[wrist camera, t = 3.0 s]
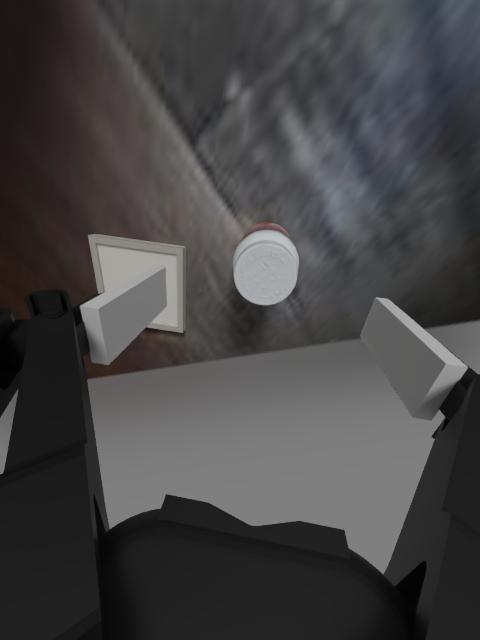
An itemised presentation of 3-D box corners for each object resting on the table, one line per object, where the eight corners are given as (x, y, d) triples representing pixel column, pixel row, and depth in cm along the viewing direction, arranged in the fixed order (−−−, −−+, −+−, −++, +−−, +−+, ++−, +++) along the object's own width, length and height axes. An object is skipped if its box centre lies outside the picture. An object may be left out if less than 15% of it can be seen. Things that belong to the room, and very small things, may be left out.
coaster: (108, 316, 36) (103, 320, 35) (94, 233, 31) (88, 235, 29) (185, 328, 36) (182, 333, 34) (186, 246, 30) (182, 248, 29)
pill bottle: (233, 233, 29) (214, 252, 19) (283, 213, 27) (291, 223, 17) (251, 280, 31) (242, 319, 21) (298, 264, 30) (312, 299, 20)
